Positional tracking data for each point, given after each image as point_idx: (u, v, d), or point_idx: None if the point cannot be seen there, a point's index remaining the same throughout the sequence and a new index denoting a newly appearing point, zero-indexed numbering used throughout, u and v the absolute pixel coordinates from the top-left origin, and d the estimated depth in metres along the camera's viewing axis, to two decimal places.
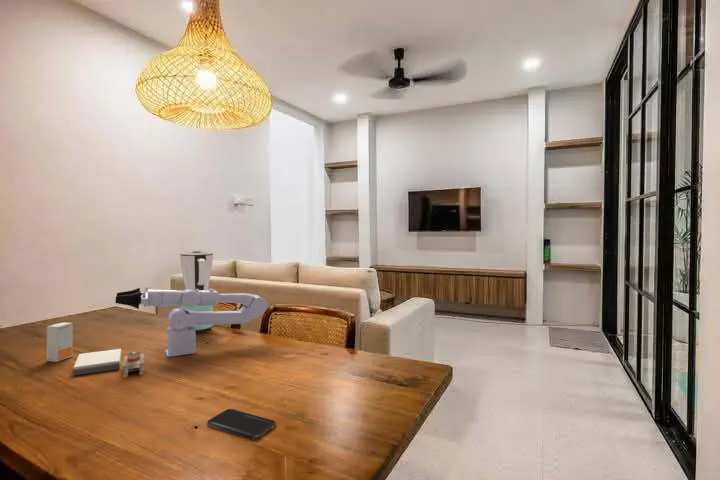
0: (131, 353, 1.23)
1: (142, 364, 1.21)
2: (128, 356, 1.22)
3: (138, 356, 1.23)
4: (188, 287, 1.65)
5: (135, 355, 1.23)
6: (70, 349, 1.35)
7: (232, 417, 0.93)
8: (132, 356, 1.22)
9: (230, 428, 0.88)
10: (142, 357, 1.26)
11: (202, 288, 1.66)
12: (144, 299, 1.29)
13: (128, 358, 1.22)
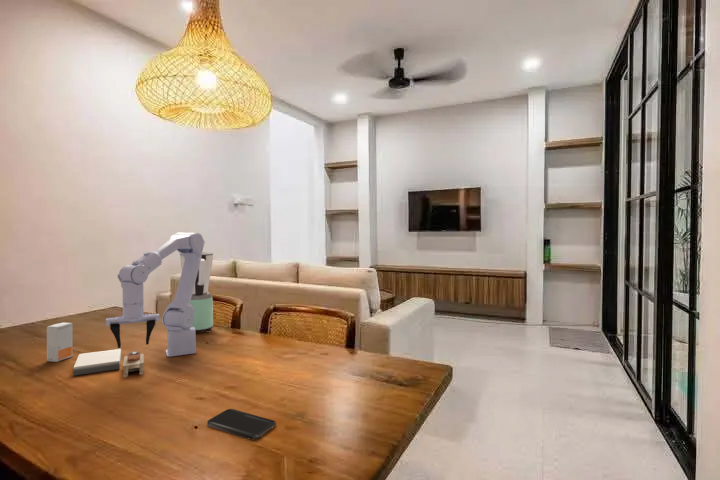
0: (131, 353, 1.23)
1: (142, 364, 1.21)
2: (128, 356, 1.22)
3: (138, 356, 1.23)
4: None
5: (135, 355, 1.23)
6: (70, 349, 1.35)
7: (232, 417, 0.93)
8: (132, 356, 1.22)
9: (230, 428, 0.88)
10: (142, 357, 1.26)
11: (202, 288, 1.66)
12: None
13: (128, 358, 1.22)
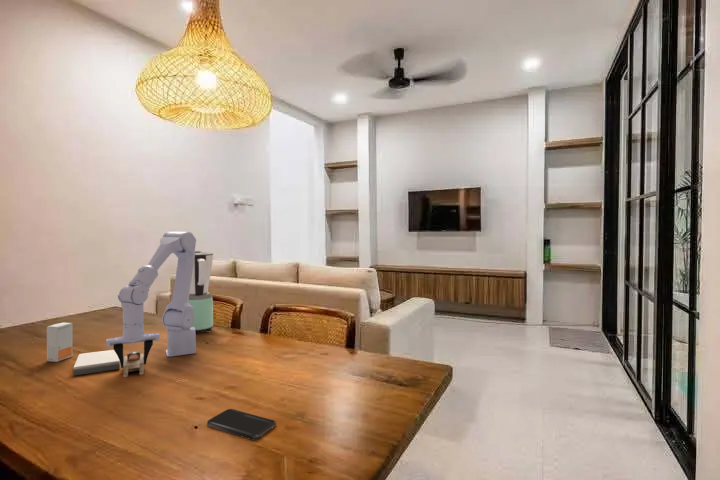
0: (131, 353, 1.23)
1: (142, 364, 1.21)
2: (128, 356, 1.22)
3: (138, 356, 1.23)
4: None
5: (135, 355, 1.23)
6: (70, 349, 1.35)
7: (232, 417, 0.93)
8: (132, 356, 1.22)
9: (230, 428, 0.88)
10: (142, 357, 1.26)
11: (202, 288, 1.66)
12: None
13: (128, 358, 1.22)
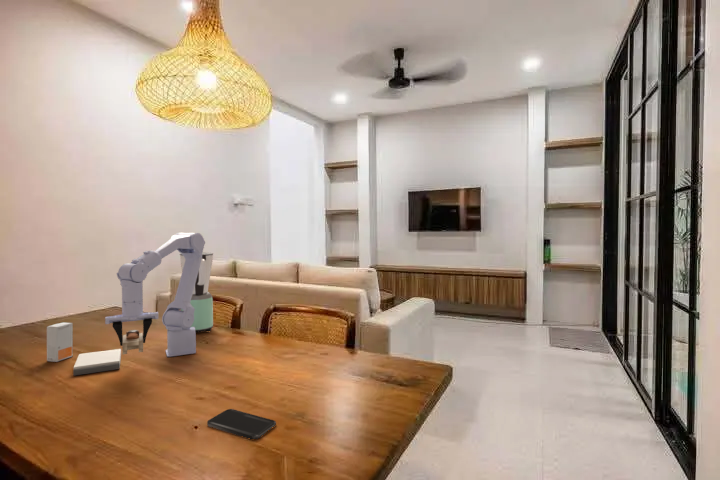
0: (130, 331, 1.23)
1: (141, 342, 1.21)
2: (127, 334, 1.22)
3: (137, 334, 1.23)
4: None
5: (134, 333, 1.23)
6: (70, 349, 1.35)
7: (232, 417, 0.93)
8: (131, 334, 1.22)
9: (230, 428, 0.88)
10: (141, 336, 1.26)
11: (202, 288, 1.66)
12: None
13: (127, 336, 1.22)
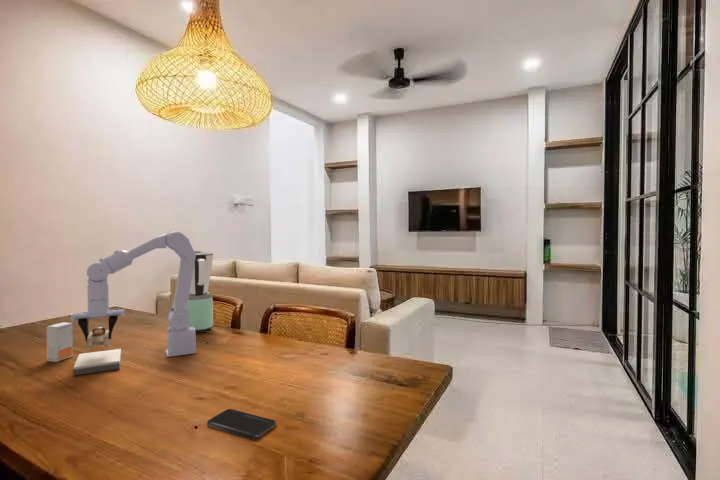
0: (96, 328, 1.27)
1: (106, 338, 1.25)
2: (93, 331, 1.26)
3: (103, 331, 1.28)
4: None
5: (100, 330, 1.27)
6: (70, 349, 1.35)
7: (232, 417, 0.93)
8: (97, 330, 1.26)
9: (230, 428, 0.88)
10: (107, 332, 1.30)
11: (202, 288, 1.66)
12: None
13: (93, 332, 1.26)
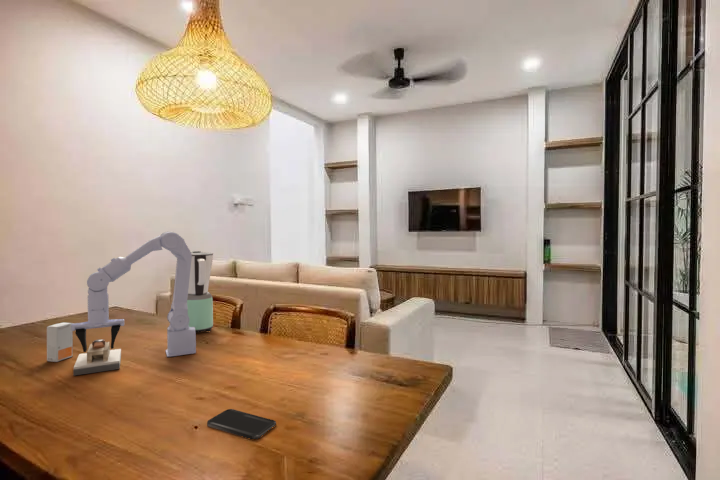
0: (96, 341, 1.28)
1: (106, 351, 1.25)
2: (93, 343, 1.27)
3: (103, 343, 1.28)
4: None
5: (100, 342, 1.27)
6: (70, 349, 1.35)
7: (232, 417, 0.93)
8: (97, 343, 1.27)
9: (230, 428, 0.88)
10: (107, 345, 1.30)
11: (202, 288, 1.66)
12: None
13: (93, 345, 1.27)
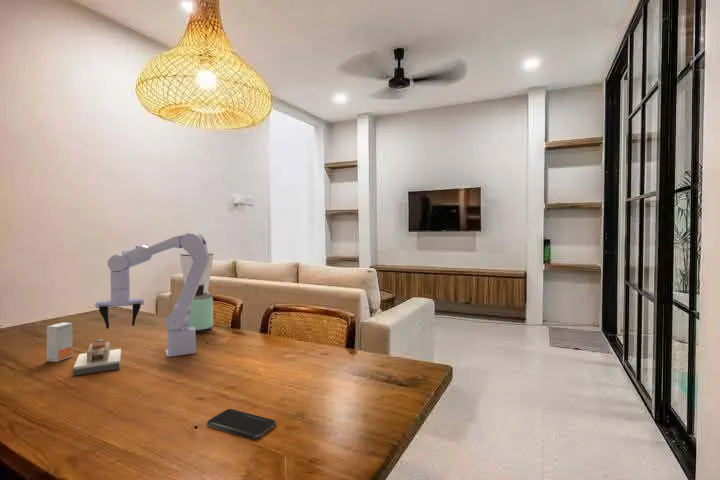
0: (96, 341, 1.28)
1: (106, 351, 1.25)
2: (93, 343, 1.27)
3: (103, 343, 1.28)
4: None
5: (100, 342, 1.27)
6: (70, 349, 1.35)
7: (232, 417, 0.93)
8: (97, 343, 1.27)
9: (230, 428, 0.88)
10: (107, 345, 1.30)
11: (202, 288, 1.66)
12: (143, 302, 1.40)
13: (93, 345, 1.27)
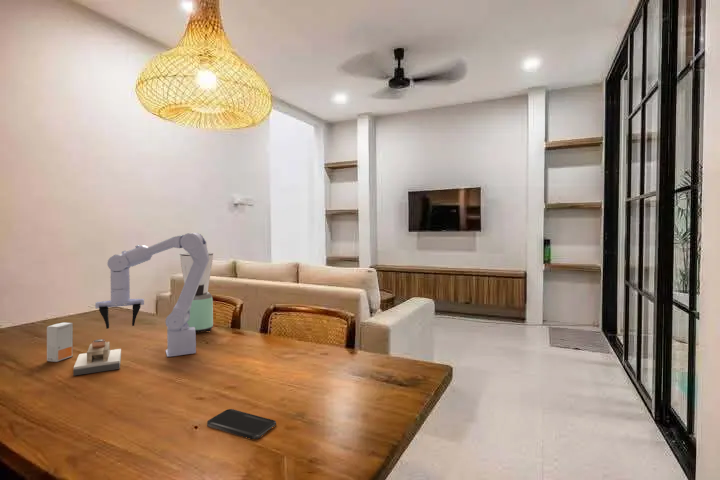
0: (96, 341, 1.28)
1: (106, 351, 1.25)
2: (93, 343, 1.27)
3: (103, 343, 1.28)
4: None
5: (100, 342, 1.27)
6: (70, 349, 1.35)
7: (232, 417, 0.93)
8: (97, 343, 1.27)
9: (230, 428, 0.88)
10: (107, 345, 1.30)
11: (202, 288, 1.66)
12: (143, 302, 1.40)
13: (93, 345, 1.27)
